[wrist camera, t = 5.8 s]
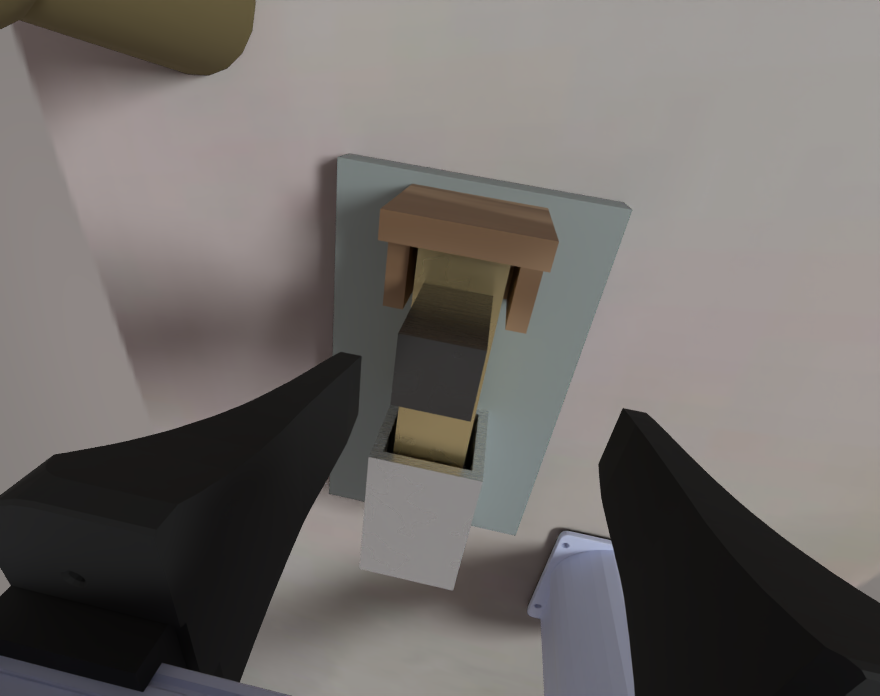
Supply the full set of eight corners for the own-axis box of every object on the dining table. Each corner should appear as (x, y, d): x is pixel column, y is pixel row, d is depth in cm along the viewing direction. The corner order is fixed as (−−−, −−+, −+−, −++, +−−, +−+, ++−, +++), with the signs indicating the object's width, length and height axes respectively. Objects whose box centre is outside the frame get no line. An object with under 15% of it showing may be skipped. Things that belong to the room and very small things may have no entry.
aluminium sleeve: (462, 512, 27) (452, 590, 23) (383, 494, 27) (359, 568, 23) (488, 410, 23) (482, 482, 19) (395, 391, 23) (368, 457, 19)
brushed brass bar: (462, 453, 23) (443, 580, 17) (403, 441, 24) (364, 562, 17) (513, 232, 17) (512, 303, 11) (434, 218, 18) (390, 280, 11)
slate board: (515, 516, 28) (515, 535, 27) (337, 476, 29) (329, 493, 28) (624, 202, 18) (632, 209, 17) (349, 153, 19) (337, 157, 18)
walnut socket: (524, 298, 20) (527, 353, 15) (402, 274, 20) (371, 322, 16) (548, 208, 18) (559, 241, 13) (412, 183, 18) (380, 208, 14)
